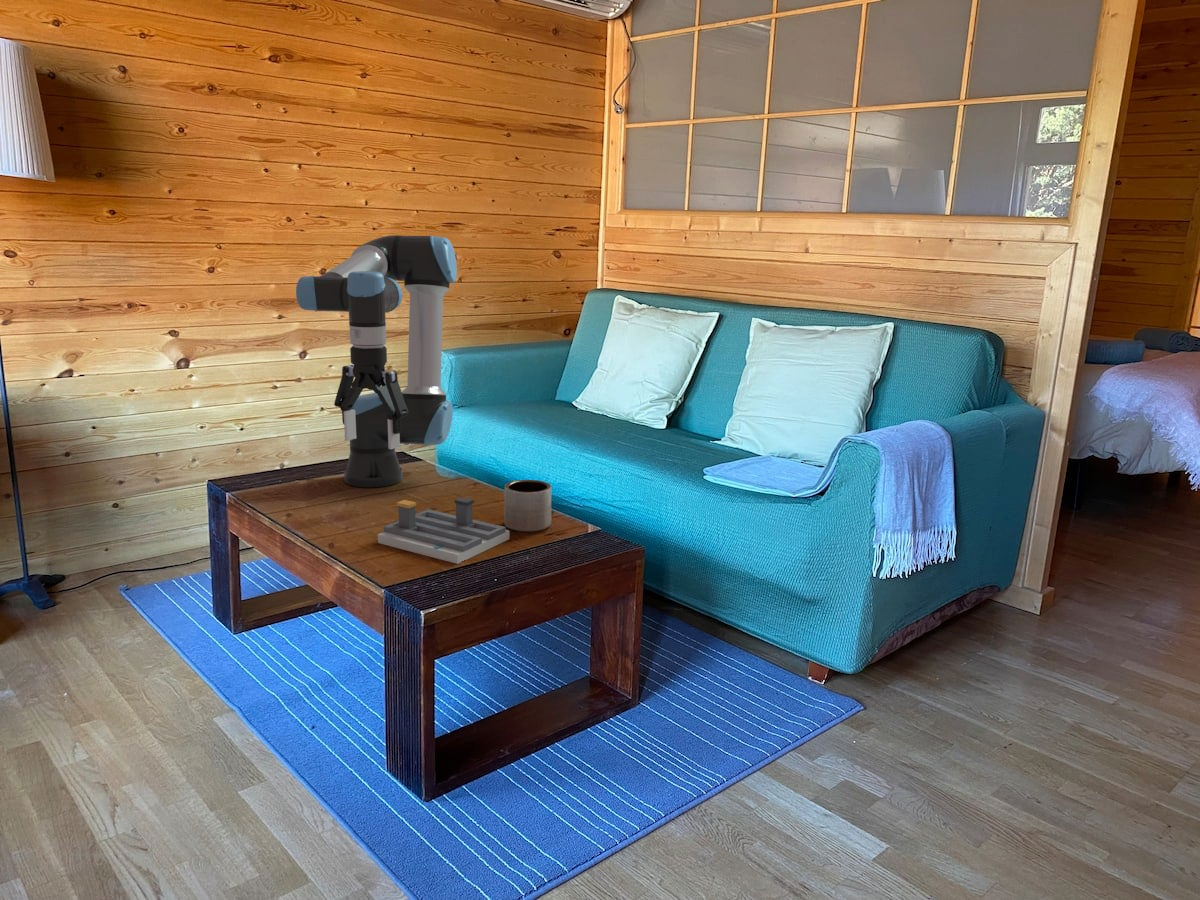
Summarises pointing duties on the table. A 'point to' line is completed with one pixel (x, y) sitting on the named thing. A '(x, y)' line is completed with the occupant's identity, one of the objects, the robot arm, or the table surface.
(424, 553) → the console
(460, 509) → the fader
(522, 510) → the planter
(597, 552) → the table surface
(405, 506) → the fader
